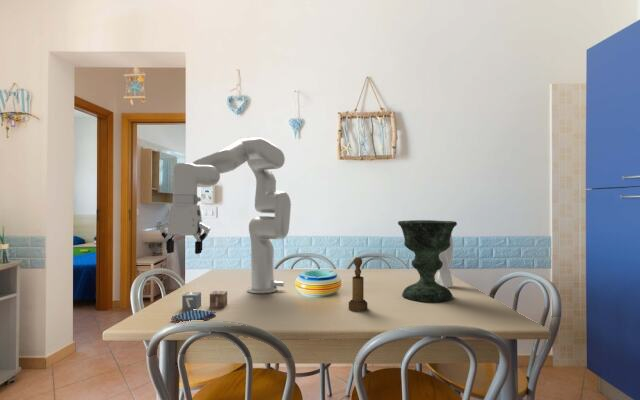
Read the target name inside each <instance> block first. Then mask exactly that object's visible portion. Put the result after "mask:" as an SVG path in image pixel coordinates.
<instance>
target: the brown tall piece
mask: <svg viewBox="0 0 640 400" xmlns="http://www.w3.org/2000/svg"><path fill="white" fill-rule="evenodd" d="M353 264H354V266H355V269H354V276H352V277H351V278H352V279H351V280H352V295H351V296H352V297H351V298H352V299H351V300H349V301H348V310H349V311H351V312H366V311H368V307H369V306H368V302H367V301H366V300H365V299H364V297H365V296H364V276H361V274H362V269H361V266H362V264H363V259H362V258H361V257H355V258H354V259H353Z"/></svg>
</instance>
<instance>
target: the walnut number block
mask: <svg viewBox="0 0 640 400" xmlns="http://www.w3.org/2000/svg"><path fill="white" fill-rule="evenodd" d="M227 305H228V290H213V291H212V292H210V294H209V309H224V308H225V307H227Z"/></svg>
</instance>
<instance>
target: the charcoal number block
mask: <svg viewBox="0 0 640 400" xmlns="http://www.w3.org/2000/svg"><path fill="white" fill-rule="evenodd" d="M181 298H182V299H181V300H182V307H181V308H182V309H181V310H182V311H185V310H184V309H189V310H191V309H197V310H199V308H201V307H202V291H200V292H198V291H197V292H195V291H193V292H192V291H191V292H190V291H189V292H188V291H187V292H185V293H184V294H183V295H182V296H181ZM189 310H188V311H189Z"/></svg>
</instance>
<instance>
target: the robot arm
mask: <svg viewBox="0 0 640 400" xmlns="http://www.w3.org/2000/svg"><path fill="white" fill-rule="evenodd" d="M285 161H286V158H285V154H284V152H283V151H282V149H280V148H279V147H278V146H276V145H275V144H273V143H272V142H270V141H269V140H267V139H265V138H263V137H259V136H258V137H250V138H242V139H239V140H237V141H236V142H234V143H232V144H231V145H228V146H227V147H225V148H223V149H221V150H219V151H216V152H214V153H212V154H209V155H207V156H203V157H201V158H198V159H196V160H194V161H192V162H191V163H190V162H178V163H175V164H174V165H173V169H172V170H173V171H172V173H173V174H172V175H173V176H172V204H170V208H169V213H168V220H167V223H165V224H163V225H162V226H161V225H160V226H159V227H158V229H159V231H160V234H161V237H162V238H164V241H165V242H166V247H165V248H166V253H167V254H172V253H174V252H175V241H174V238H175V237H176V236H193V237H194V239H195V240H196V241H195V242H194V245H195V246H194V254H196V255H199V254H202V251H203V241H205V239H206V238H207V237H208V235H209V233H210V231H211V228H210V226H208V225H206V224H204V223H203V222H202V221H203V218H202V211H201V206H200V205H199V204H198V202H201V201H202V199H201V197H200V196H198V188H209V187H214V186H215V185H217V184H218V183H219V181H220V179H221V174H225V173H229V172H231V171H235V170H236V169H237V168H238V167H240V166H242V165H243V164H244V163H247V165H248V166H249V168H250V169H251V171H252V172H253V174H254V176H255V182H256V184H255V193H254V194H255V196H254V208H255V211H256V212H258V213H260V214H274V216H269V215H268V216H265V215H262V216H259V215H258V216H255V217H254V218H252V219H250V222H249V223H248V231H249V232H248V233H249V238H250V249H251V252H250V254H251V255H250V259H251V260H250V261H251V262H250V270H251V271H250V272H251V273H250V278H251V279H250V280H251V281H250V286H249V287H247V292H249V293H251V294H268V293H269V294H270V293H274V292H276V291H278V287H280V288H281V287H283V288H284V287H285V282H284V281H281V280H280V281H277V280H276V278H275V275H274V274H275V273H274V263H275V259H274V254H275V253H274V251H275V250H274V246H273V243H272V241H271V240H283V239H286V238H287V236H288V234H289V231H290V220H291V207H292V203H291V202H292V201H291V198H290V195H289V194H288V193H287V192H286V191H283V190H277V189H276V188H277V187H276V186H277V180H276V177H275V174H273V172H272V170H278V169H281V168H282V167H283V166H284V164H285Z"/></svg>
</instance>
